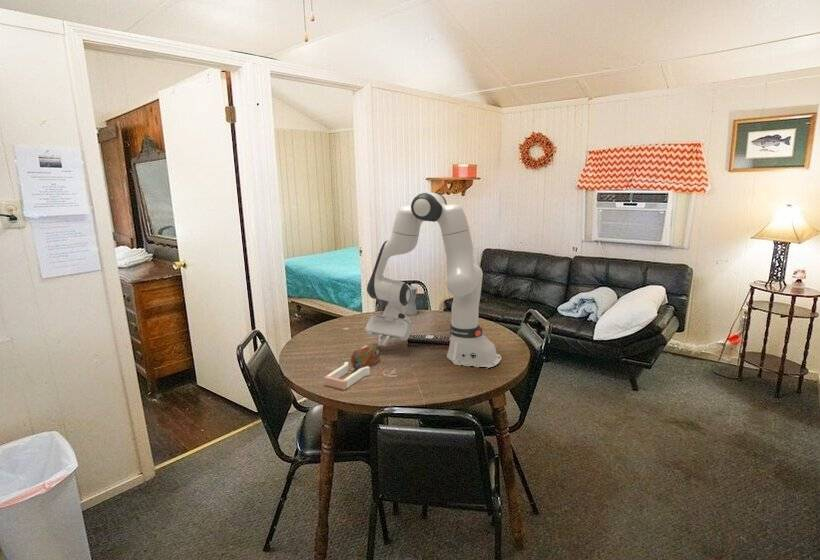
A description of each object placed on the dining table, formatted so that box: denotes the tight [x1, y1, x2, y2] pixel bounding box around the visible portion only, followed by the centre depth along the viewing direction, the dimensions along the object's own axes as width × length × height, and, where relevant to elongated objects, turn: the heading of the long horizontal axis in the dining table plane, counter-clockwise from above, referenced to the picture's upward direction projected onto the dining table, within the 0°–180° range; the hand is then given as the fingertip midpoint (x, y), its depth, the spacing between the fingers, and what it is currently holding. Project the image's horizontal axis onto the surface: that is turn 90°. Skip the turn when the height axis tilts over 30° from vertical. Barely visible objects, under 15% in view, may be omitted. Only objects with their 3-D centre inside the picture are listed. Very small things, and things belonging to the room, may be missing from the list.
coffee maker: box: [405, 281, 418, 317], centre depth 244 cm, size 15×9×18 cm, turn 45°
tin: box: [350, 343, 381, 371], centre depth 175 cm, size 15×3×8 cm, turn 143°
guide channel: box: [323, 361, 371, 391], centre depth 164 cm, size 12×16×3 cm
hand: (381, 345), depth 186 cm, fingers closed
